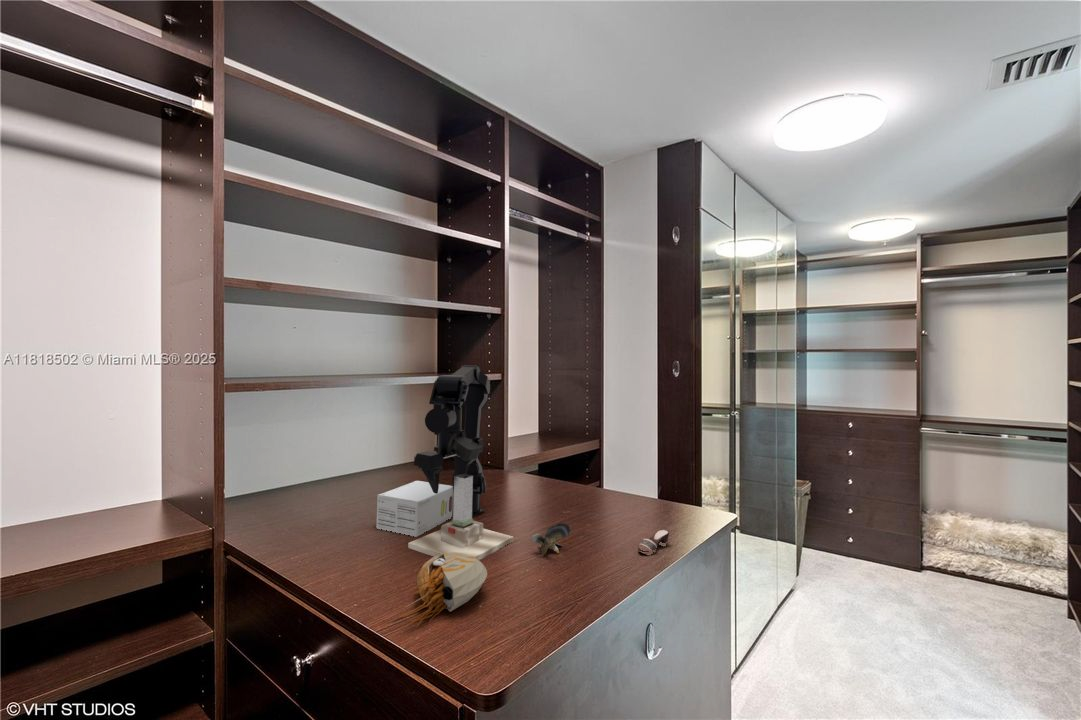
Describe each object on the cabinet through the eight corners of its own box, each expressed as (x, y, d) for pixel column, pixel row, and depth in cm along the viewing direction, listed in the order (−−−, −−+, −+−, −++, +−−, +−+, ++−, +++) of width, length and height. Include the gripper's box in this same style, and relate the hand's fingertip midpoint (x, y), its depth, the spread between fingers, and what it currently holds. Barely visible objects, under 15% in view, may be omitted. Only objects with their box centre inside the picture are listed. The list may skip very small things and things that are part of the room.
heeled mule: (630, 552, 119) (631, 536, 119) (658, 541, 126) (659, 526, 126) (645, 559, 116) (646, 543, 115) (673, 547, 123) (674, 532, 123)
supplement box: (417, 538, 124) (417, 501, 124) (375, 529, 129) (376, 494, 129) (453, 517, 140) (454, 485, 140) (415, 510, 145) (415, 479, 145)
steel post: (461, 520, 123) (462, 473, 122) (472, 523, 121) (473, 475, 121) (452, 524, 120) (453, 476, 120) (463, 527, 118) (464, 478, 118)
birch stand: (458, 526, 133) (459, 507, 133) (513, 541, 123) (513, 520, 123) (408, 547, 118) (408, 526, 117) (465, 567, 108) (466, 543, 108)
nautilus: (429, 648, 80) (366, 624, 87) (505, 586, 98) (447, 571, 106) (426, 600, 79) (363, 581, 87) (503, 547, 98) (445, 535, 105)
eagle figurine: (564, 557, 112) (577, 537, 120) (547, 530, 112) (561, 511, 120) (539, 568, 115) (554, 547, 123) (523, 541, 116) (538, 523, 124)
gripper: (448, 435, 110) (447, 504, 111) (498, 425, 126) (496, 485, 127) (413, 430, 116) (411, 495, 116) (464, 420, 132) (463, 478, 132)
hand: (448, 488), depth 123 cm, fingers open, 9 cm apart
